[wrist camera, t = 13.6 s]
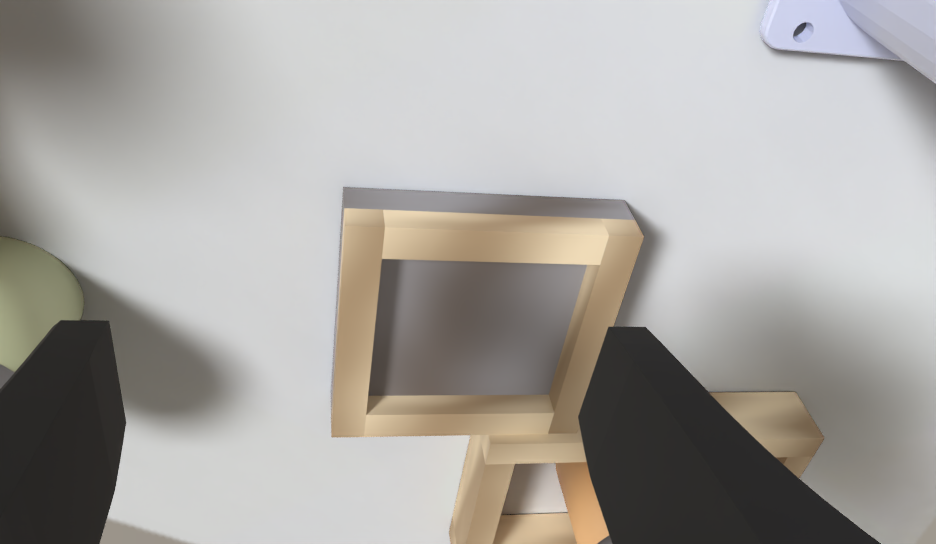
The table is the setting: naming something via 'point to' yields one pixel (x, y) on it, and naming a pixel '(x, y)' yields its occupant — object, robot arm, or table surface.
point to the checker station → (496, 338)
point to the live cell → (582, 504)
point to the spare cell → (31, 300)
